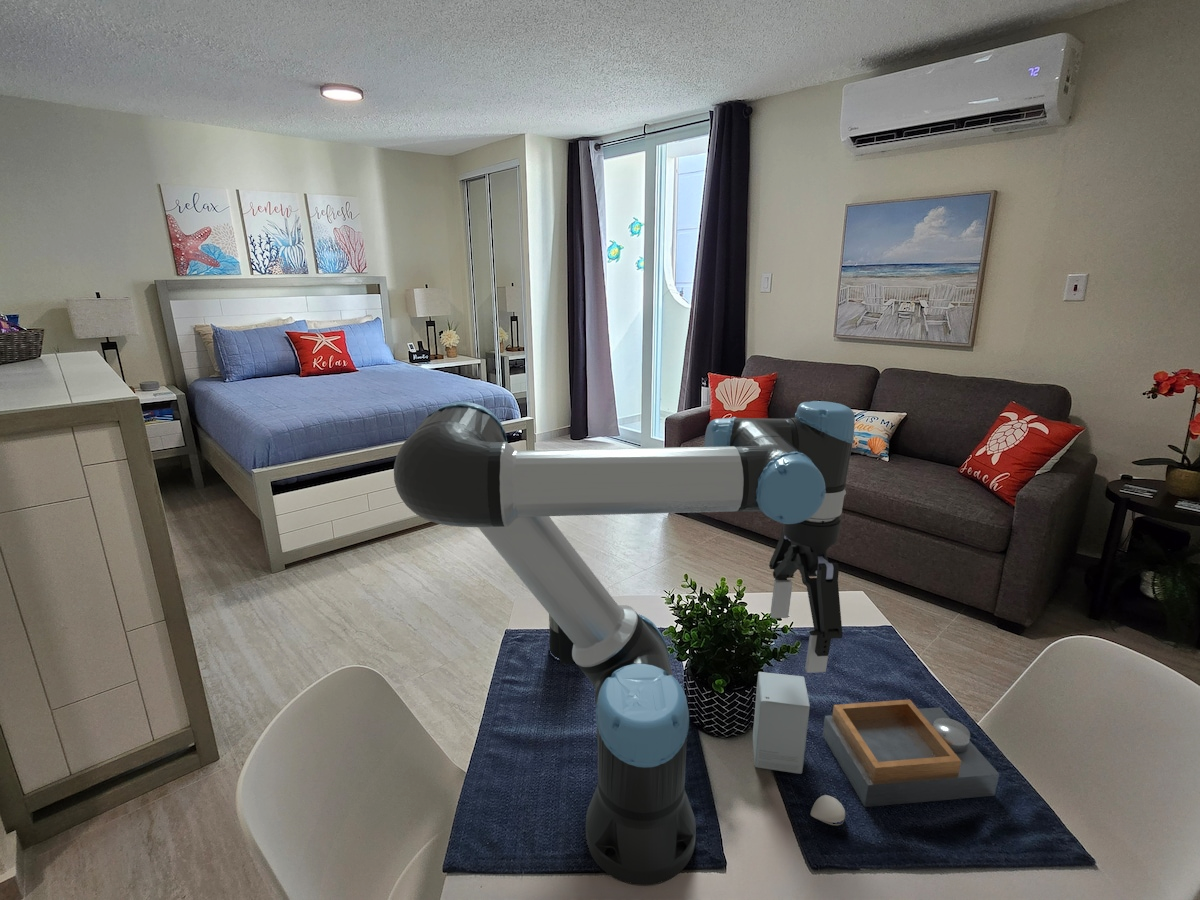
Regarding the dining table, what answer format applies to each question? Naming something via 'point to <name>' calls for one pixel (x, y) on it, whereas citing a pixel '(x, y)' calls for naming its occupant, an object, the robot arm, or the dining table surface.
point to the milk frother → (560, 643)
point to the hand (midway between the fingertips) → (795, 642)
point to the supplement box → (780, 722)
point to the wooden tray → (906, 754)
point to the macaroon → (828, 810)
